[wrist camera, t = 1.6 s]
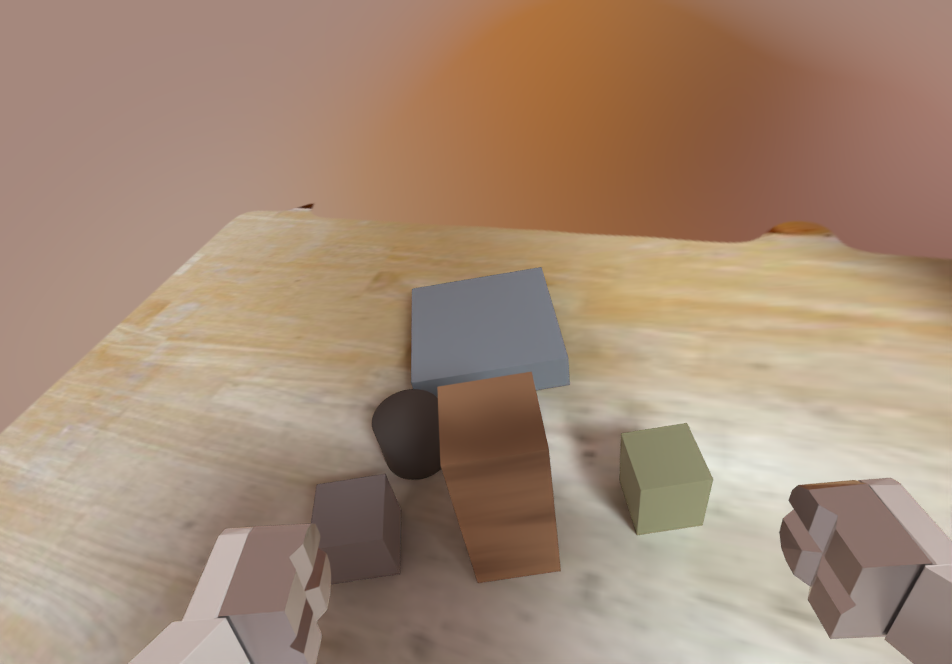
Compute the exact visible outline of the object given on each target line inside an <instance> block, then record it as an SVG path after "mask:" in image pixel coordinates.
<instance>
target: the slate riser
mask: <svg viewBox="0 0 952 664" xmlns="http://www.w3.org/2000/svg"><path fill="white" fill-rule="evenodd" d="M526 372H532V375H533V380H534V384H535V389H536V390H540V389H546V388H553V387H559V386H565V385H570V381H569V362H568V355H567V352H566V348H565V345H564V342H563V338H562V335H561V331H560V328H559V325H558V321H557V318H556V315H555V311H554V308H553V305H552V301H551V298H550V294H549V291H548V288H547V284H546V281H545V278H544V274H543V271H542V268H541V267H539V268H533V269H527V270H521V271H515V272H509V273H503V274H497V275H491V276H485V277H479V278H473V279H468V280H462V281H456V282H450V283H444V284H438V285H432V286H426V287H420V288H414V289H412V352H411V384H412V387H413V389H420V390H425V391H428V392H430V393H432V394H434V395H435V396H436V397H437V398H438V389H437V387H439V386H445V385H451V384H457V383H463V382H470V381H476V380H482V379H488V378H495V377H501V376H507V375H513V374H519V373H526Z"/></svg>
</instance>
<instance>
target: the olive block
mask: <svg viewBox="0 0 952 664" xmlns="http://www.w3.org/2000/svg"><path fill="white" fill-rule="evenodd" d="M619 480H620V483H621V487H622V490H623V493H624V496H625V499H626V502H627V505H628V508H629V512H630V515H631V518H632V521H633V524H634V527H635V530H636V533H637V535H642V534H648V533H655V532H662V531H668V530H675V529H682V528H688V527H695V526H702V525H703V521H704V517H705V512H706V508H707V504H708V499H709V495H710V491H711V487H712V482H713V478H712V476H711V473H710V471H709V469H708V467H707V465H706V463H705V461H704V458H703V456H702V454H701V452H700V450H699V448H698V446H697V444H696V441H695V439H694V437H693V435H692V433H691V431H690V429H689V426H688V424H687V423H684V424H677V425H671V426H665V427H658V428H652V429H645V430H639V431H633V432H626V433H621V449H620V474H619Z"/></svg>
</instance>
